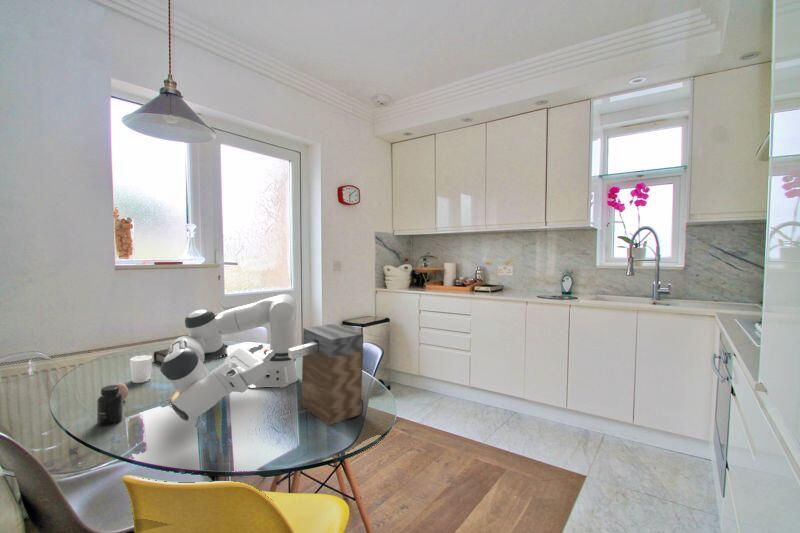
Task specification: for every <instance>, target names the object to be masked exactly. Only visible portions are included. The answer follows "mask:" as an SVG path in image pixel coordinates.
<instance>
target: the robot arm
mask: <svg viewBox="0 0 800 533" xmlns="http://www.w3.org/2000/svg"><path fill="white" fill-rule="evenodd" d="M296 313H297V303H296V300H295V299H294V297H293V296H292V295H289V294H287V293H282V294H278V295H276V296H275V295H274V296H272V297H268V298H265V299H262V300H259V301H256V302H252V303H248V304H244V305H241V306H236V307H233V308H229V309H226V310H223V311H222V312H219V313H217V312H213V311H212V310H209V309H204V308H203V309H198V310H195V311H192V312H190V313H188V315H187V316H186V317H185V319H184V325H185V328H186V330H187V334H188V335H183V336H179V337H178V338H176V339H175V340H174V341H173V342H172V343H171V345H169V346H168V348H166V349H167V353H166V358H165V359H164V360H163V362H162V364H160V372H161V374H162V375H163V376H164V377H165V378H166V379H168V381H169V382H170V383H171V385H172V387H174V388H175V390H176V391H178V392H179V393H180V394H179V396H178V397H177V398H176V399H175V400H174V401H173V402H172V403H171V405H172V407H171V409H172V410H173V411H174V413H175V414H176V415H177V416H179V417H180V419H182V420H184V421H186V422H190V421H192V420H195V419H197V418H198V417H200V416H201V415H203V414H205V412H207V411H209V410H210V409H211V408H213V407H214V406H215V405H216V404H217V403H218V402H219V401H220V400H221V399H222V398H225V397H227V396H228V395H229V394H231V393H245V392H246V391H247V390H248V389H249V388H248V386H250V385H252V384H253V385H255V386H256V387H280V388H286V387H288V386H289V385H291V384H293V383H296V382H297V381H299V377H298V373H297V372H298V371H297V367H296V361H297V358H296V359H291V358H289V355H288V349H290V348H294V347H296V330H297V328H296V324H297V322H296V320H297V318H296V315H297V314H296ZM268 324H269V334H270V335H269V349H267V348H266V349H263V348H264V345H263V343H261V342H258V343H256V344H255V345H253V346H251V347H247V348H245V347H243V346H242V347H241V346H240V347H239V348H237V349H236V350H234V351H232V352H231V353H230V354H228V356H227V357H225V359H224V361H223V362H222V363H221V364H220V365H219V366H217V367H216V368H214V369H213V370H211V371H210V372H209V370H208V369H207V367H205V365H204V361H205V362H211V361H215V360H217V359H220V358H221V357H220V356H222V354H223V353H224V351H225V347H224V345H225V343H224V342H223V341H224V339H223V337H222V336H225V335H232V334H237V333H241V332H246V331H250V330H253V329H257V328H261V327H263V326H264V325H268ZM262 349H263V354H264V356H262V357H261V358H260V357H258V356H257V355H255V354H254V353H256V352H258V351H261V350H262ZM219 357H220V358H219Z"/></svg>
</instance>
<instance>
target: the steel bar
mask: <svg viewBox="0 0 800 533" xmlns="http://www.w3.org/2000/svg"><path fill="white" fill-rule="evenodd" d="M318 351H319V341H314V342H311V343H307V344H304V345H303V344H300V345H297V346H295V347H294V348H290V349H288V355H289V358H291V359H296V360H297V359H298V358H303V356H305V355H308V354H312V353H315V352H318Z"/></svg>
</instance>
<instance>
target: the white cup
mask: <svg viewBox="0 0 800 533" xmlns="http://www.w3.org/2000/svg"><path fill="white" fill-rule="evenodd" d="M129 361H130V363H129V364H130V376H131V382H132V383H136V384H139V383H145V381H146V382H148V381H150V380H151V379H150V378H151V377H152V376H151V375H152V370H153V369H152V366H153V356H152V355H151V354H149V355H147V354H143V355H136V356H133V357H131V358H130V359H129ZM149 379H150V380H149Z"/></svg>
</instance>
